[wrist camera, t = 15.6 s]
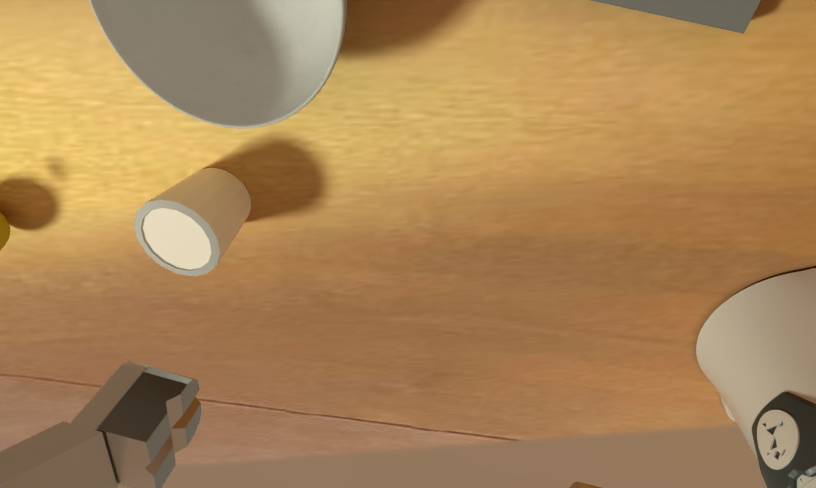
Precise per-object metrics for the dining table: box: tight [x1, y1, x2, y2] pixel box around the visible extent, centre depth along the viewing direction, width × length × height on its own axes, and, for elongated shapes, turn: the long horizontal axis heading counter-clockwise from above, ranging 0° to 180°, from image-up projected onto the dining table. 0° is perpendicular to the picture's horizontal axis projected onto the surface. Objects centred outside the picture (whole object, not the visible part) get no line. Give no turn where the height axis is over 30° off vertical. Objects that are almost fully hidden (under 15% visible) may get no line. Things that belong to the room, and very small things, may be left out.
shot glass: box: [134, 167, 252, 276], centre depth 42 cm, size 7×7×7 cm
